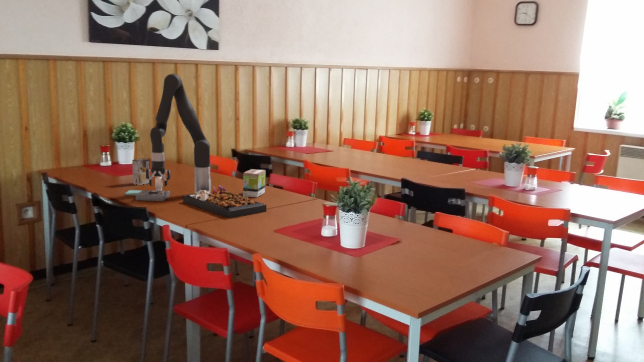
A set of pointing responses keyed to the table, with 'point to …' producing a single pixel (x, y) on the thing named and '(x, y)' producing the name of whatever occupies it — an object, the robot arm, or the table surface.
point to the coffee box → (140, 171)
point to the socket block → (152, 195)
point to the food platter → (224, 203)
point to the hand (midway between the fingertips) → (158, 186)
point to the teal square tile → (133, 192)
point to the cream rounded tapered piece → (158, 183)
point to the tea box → (254, 183)
